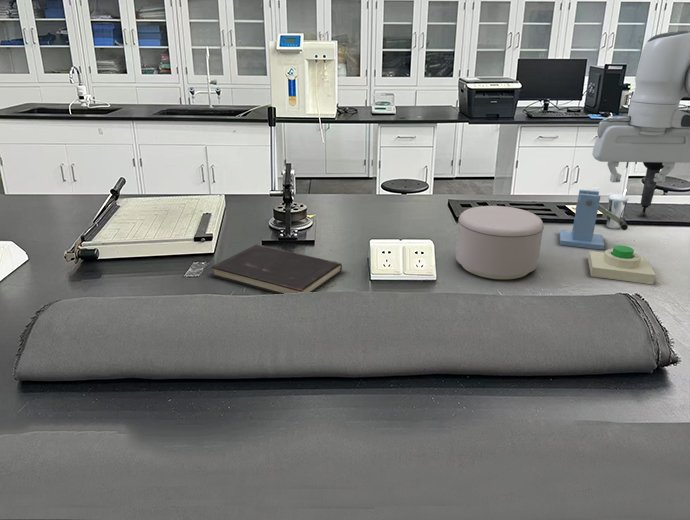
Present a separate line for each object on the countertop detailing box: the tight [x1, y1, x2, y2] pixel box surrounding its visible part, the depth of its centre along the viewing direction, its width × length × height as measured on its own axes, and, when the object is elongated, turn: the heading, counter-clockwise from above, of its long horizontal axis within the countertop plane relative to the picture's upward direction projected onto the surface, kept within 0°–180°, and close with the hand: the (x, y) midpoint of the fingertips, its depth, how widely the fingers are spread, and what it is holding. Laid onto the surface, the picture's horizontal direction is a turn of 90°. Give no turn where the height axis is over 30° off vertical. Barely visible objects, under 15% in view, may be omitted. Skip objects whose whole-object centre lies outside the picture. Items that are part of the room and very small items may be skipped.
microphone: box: [640, 162, 664, 217], centre depth 150 cm, size 7×7×20 cm
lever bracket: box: [558, 189, 605, 251], centre depth 132 cm, size 10×8×13 cm
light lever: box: [585, 192, 629, 231], centre depth 129 cm, size 12×6×2 cm
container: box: [454, 205, 545, 280], centre depth 118 cm, size 18×18×12 cm
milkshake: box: [605, 189, 629, 229], centre depth 143 cm, size 4×5×10 cm
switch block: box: [587, 248, 656, 285], centre depth 116 cm, size 12×10×4 cm
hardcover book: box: [210, 243, 343, 295], centre depth 115 cm, size 16×23×2 cm
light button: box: [612, 244, 635, 259], centre depth 115 cm, size 4×4×2 cm
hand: (636, 182), depth 115 cm, fingers open, 8 cm apart
